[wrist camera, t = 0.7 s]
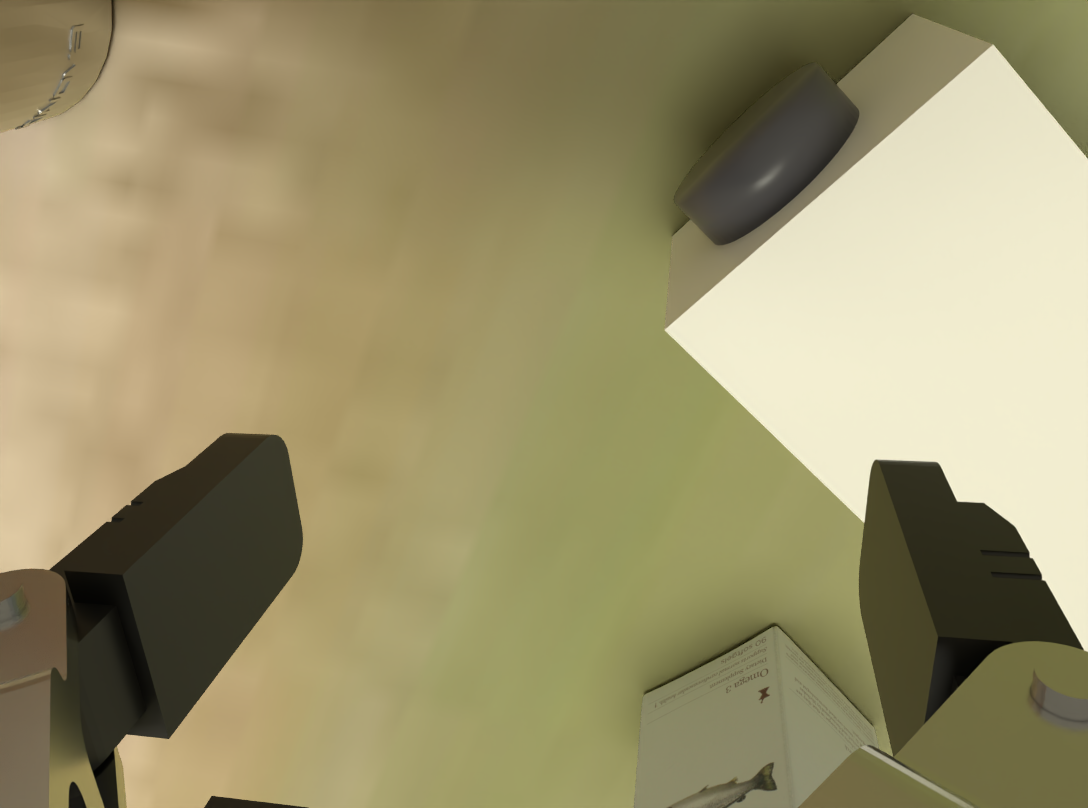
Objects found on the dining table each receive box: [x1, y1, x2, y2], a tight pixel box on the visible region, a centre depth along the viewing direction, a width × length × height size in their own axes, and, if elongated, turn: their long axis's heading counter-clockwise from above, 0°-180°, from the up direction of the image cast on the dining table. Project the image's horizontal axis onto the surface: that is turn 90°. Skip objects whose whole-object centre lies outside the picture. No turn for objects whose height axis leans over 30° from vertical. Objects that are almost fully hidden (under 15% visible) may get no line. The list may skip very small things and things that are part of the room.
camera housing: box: [665, 14, 1088, 652], centre depth 26 cm, size 22×9×9 cm, turn 47°
